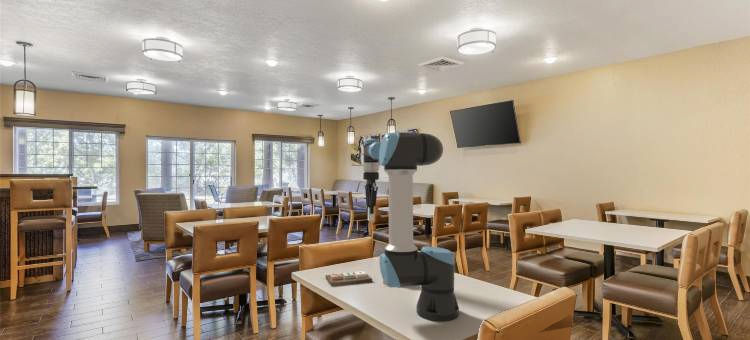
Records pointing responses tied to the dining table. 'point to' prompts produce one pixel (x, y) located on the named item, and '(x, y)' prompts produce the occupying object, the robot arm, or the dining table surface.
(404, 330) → the dining table surface
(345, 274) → the tile
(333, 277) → the tile
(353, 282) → the board
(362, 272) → the tile
